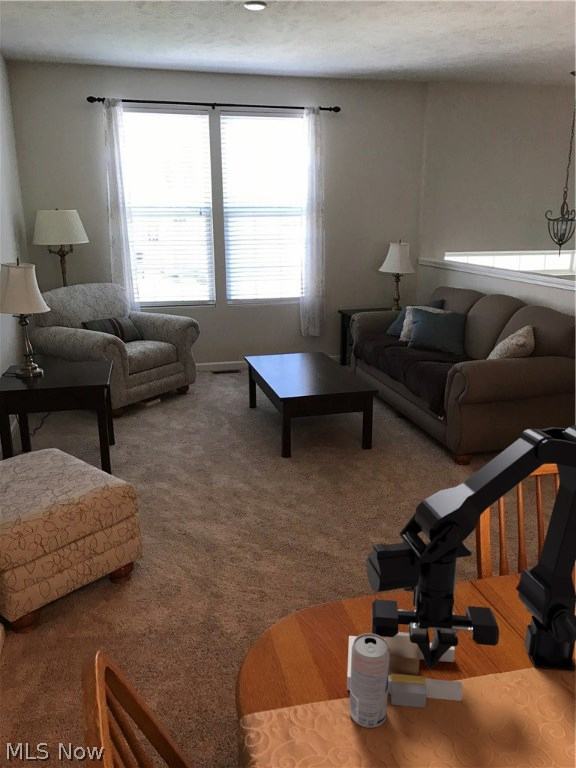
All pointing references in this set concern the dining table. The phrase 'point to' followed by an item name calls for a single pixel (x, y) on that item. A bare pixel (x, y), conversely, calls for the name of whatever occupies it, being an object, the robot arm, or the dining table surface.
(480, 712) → the dining table surface
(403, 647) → the block
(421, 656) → the white u-shaped frame
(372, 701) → the energy drink
